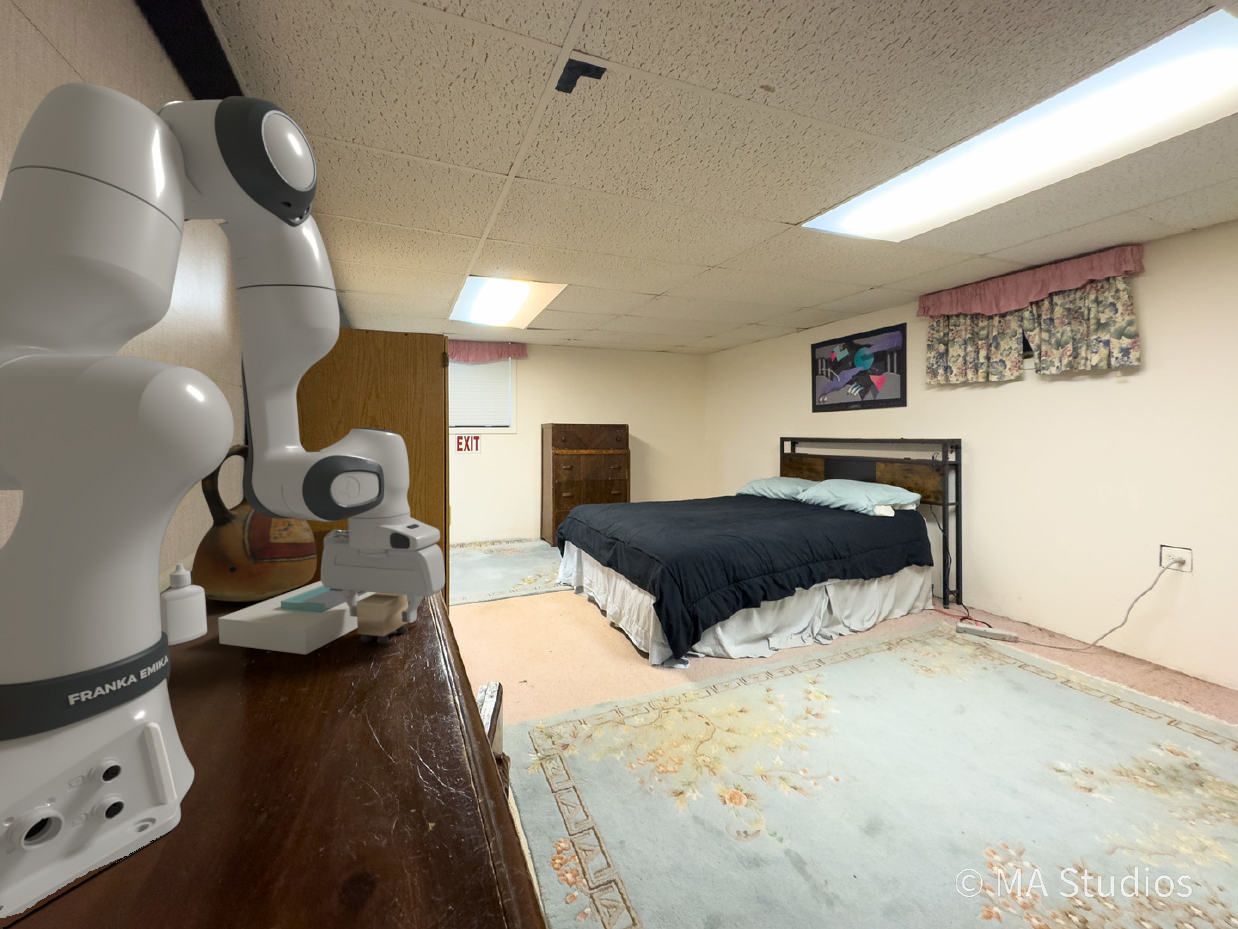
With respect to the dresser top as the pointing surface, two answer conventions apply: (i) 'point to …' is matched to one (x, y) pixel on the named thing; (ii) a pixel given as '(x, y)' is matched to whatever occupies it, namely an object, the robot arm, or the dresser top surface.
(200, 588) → the eye dropper bottle
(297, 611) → the dock
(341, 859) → the dresser top surface
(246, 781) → the dresser top surface
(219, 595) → the ceramic pitcher
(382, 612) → the beige wheeled cart
